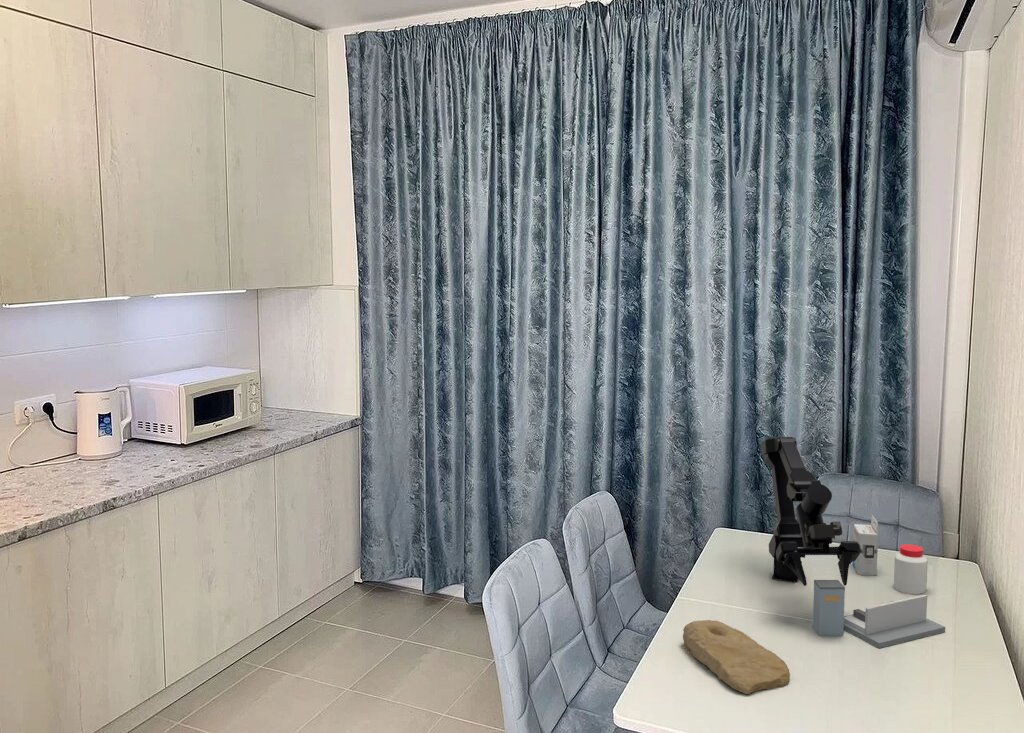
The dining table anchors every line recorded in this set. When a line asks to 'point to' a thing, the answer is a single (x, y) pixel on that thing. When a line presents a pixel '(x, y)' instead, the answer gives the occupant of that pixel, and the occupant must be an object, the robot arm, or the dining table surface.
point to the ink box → (866, 547)
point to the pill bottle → (910, 570)
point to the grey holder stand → (892, 622)
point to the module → (828, 607)
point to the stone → (734, 656)
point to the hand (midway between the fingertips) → (825, 585)
